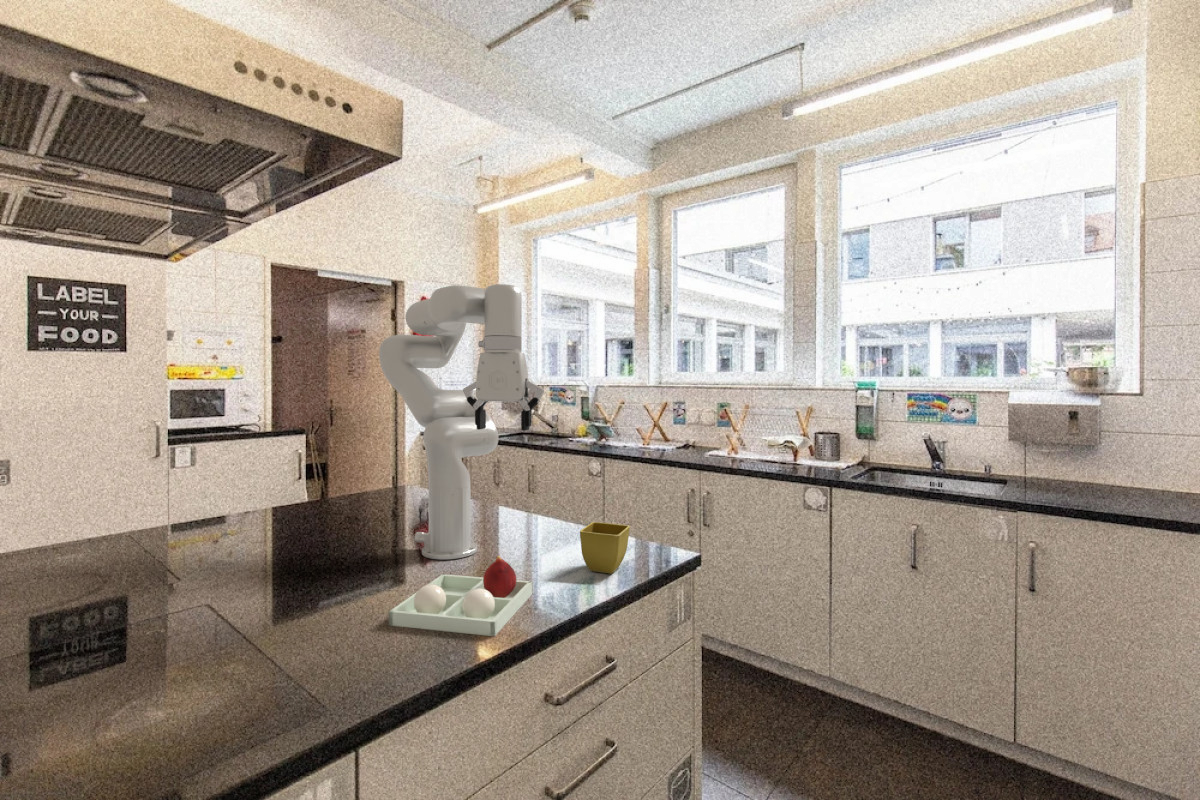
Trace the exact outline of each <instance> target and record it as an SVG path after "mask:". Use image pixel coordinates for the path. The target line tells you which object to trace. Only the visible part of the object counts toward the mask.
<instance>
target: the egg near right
mask: <svg viewBox="0 0 1200 800" xmlns="http://www.w3.org/2000/svg"><path fill="white" fill-rule="evenodd" d="M494 608H495V600H494V597H493V595H492V594H491V593H490V592H489V591H488V590H486V589H482V588H478V589H474V590H472V591H470V592H469V593H468V594H467V595H466V597H465V598H464V601H463V612H464V614H465V616H466V617H469V618H480V619H488V618H489V617H490V616H491V615H492V613H493V611H494Z"/></svg>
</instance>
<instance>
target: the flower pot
mask: <svg viewBox="0 0 1200 800" xmlns="http://www.w3.org/2000/svg"><path fill="white" fill-rule="evenodd" d="M630 530H631V526H630V525H626V524H618V523H609V522H607V523H606V522H598V521H597V522H596V521H593V522H590V524H588V525H586V526H585V527H584V528H581V530H579V537H580V548H581V555H582V558H583V560H584V563H585V565H586V566H587V568H588V570H589V571H590V572H596V573H603V574H610V575H611V574H614V573H615V572H616V571H617V569H619V567H620V566H621V564H622V562H623V561H624V557H625V556H626V553H627V550H628V545H629V537H630V536H629V535H630Z"/></svg>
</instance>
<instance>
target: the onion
mask: <svg viewBox="0 0 1200 800" xmlns="http://www.w3.org/2000/svg"><path fill="white" fill-rule="evenodd" d="M516 580H517V575H516V572H515V570H514V568H513V567H512V565H510V564H509V563H508V562H507V561H505V560H504V559H502V557H501V556H500V555H496V557H495V561H494V562H493V563H491V564H490V565H489V567H488V568H486V570H485V571H484V574H483V584H484V588H485V589H486V590H488V591H489V592H490V593H491V594H492V595H493V597H498V598H505V597H507V596H508V595H509V594H510V593H511V592H512V591H513V590H514V588H515V586H516Z"/></svg>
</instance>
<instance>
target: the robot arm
mask: <svg viewBox="0 0 1200 800" xmlns="http://www.w3.org/2000/svg"><path fill="white" fill-rule="evenodd" d="M522 299H523V298H522V291H521V289H520V288H519V287H518V286H515V285H512V284H506V283H505V284H502V283H501V284H500V283H499V284H491V285H488V286H487V287H486V288H480V287H473V286H466V285H448V286H447V285H446V286H445V287H440V288H436V289H435V290H434V291H433V292H432V293H431V295H430V298H426V299H421V300H419V301H417V302H416V301H415V302H414V303H413V304H411V305H410V306H409V307H408V309H407V310H406V312H405V322H406V325H407V327H408V328H409V329H410V330H411V331H412V332H413V333H416V334H395V335H391V336H389V337H386V338H385V339H384V340H382V342H381V343H380V346H379V350H378V356H379V357H378V358H379V363H380V367H381V371H382V373H383V375H384V377H385V379H386V380H387V381H388V383H389V384H390V385H391V386H392V387H393V388H394V389H395V390H396V391H397V393H398V394H399V395H400V397H401V398H402V399H403V401H404V403H405V405H406V406H407V408H408V410H409V412H411V414H412V416H413V418H414V419H415V420H416V422H417V423H418V425H420V426H421V427H423V428H424V431H423V444H424V450H425V455H426V460H427V462H426V463H427V477H428V532H424V531H423V532H422V531H417V532H415V534H414V538H413V539H414V540H413V541H414V543H423V544H424V545H423V547H422V549H421V555H422V556H423V557H424V558H427V559H431V560H455V559H456V560H457V559H462V558H466V557H469V556H472V555H474V554H476V552H477V551H478V544H477V543H476V542H474V541H472V539H471V538H472V537H471V535H472V534H471V533H472V532H471V528H472V527H471V524H472V523H471V522H472V521H471V520H472V519H471V518H472V517H471V511H472V509H471V502H472V501H471V499H472V498H471V497H472V496H471V494H472V493H471V474H470V472H469V470H468V468H467V467H466V465H465V464H464V463H463V461H462V458H467V457H468V458H469V457H476V456H477V457H478V456H485V455H488V454H490V453H492V452H493V451H495V450H496V448H497V446H498V443H499V432H498V429H497V425H496V424H495V422H494V420H493V419H492V417H491V415H490V414H489V413H488V412H487V410H486V409H485V406H486V405H487V403H488V402H518V403H519V405H520V406H521V408H522V409H523V410H521V414H520V415H521V416H520V418H521V419H520V426H521V429H520V430H521V431H529V430H530V427H531V426H532V411H533V410H534V408H535V407H536V406H537V405H539V403H540V402H541V399H542V397H543V395H544V393H545V389H544V388H543V387H540V386H539V385H537V384H535V383H533V382H531V381H530V380H529V374H528V365H527V358H526V354H525V353H524V352H522V351H523V350H522V346H523V345H522V335H523V334H522V331H523V329H522V323H523V322H522V321H523V320H522V318H523V317H522V314H523V313H522V309H523V308H522V302H523V301H522ZM467 324H477V325H484V333H483V334H484V337H483V339H482V340H479V341H478V343H477V344H478V346H477V347H478V348H482V349H483V351H484V352H480V353H479V354H480V355H479V356H478V357H479V358H478V364H477V370H476V380H475V381H474V382H473V383H471V384H469V385H467V386H466V387H464V388H462V389H441V388H439V387H438V386H437V385H436V384H435V382H434V381H433V379H432V378H431V377H430V376H429V375H428V374H427V373H425V372H424V371H422V370H421V369H441V368H444V367H445V366H446V365H447V364H448V363H449V362H450V360H451V359H452V356H453V355H454V354H455V351H456V349H457V346H458V345H459V343H460V341H461V339H462V337H463V335H464V332H465V330H466V325H467ZM417 334H418V335H417ZM474 391H475V394H474V393H473V392H474ZM530 391H533V393H534V396H533V397H532V398H531V399H529V392H530Z"/></svg>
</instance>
